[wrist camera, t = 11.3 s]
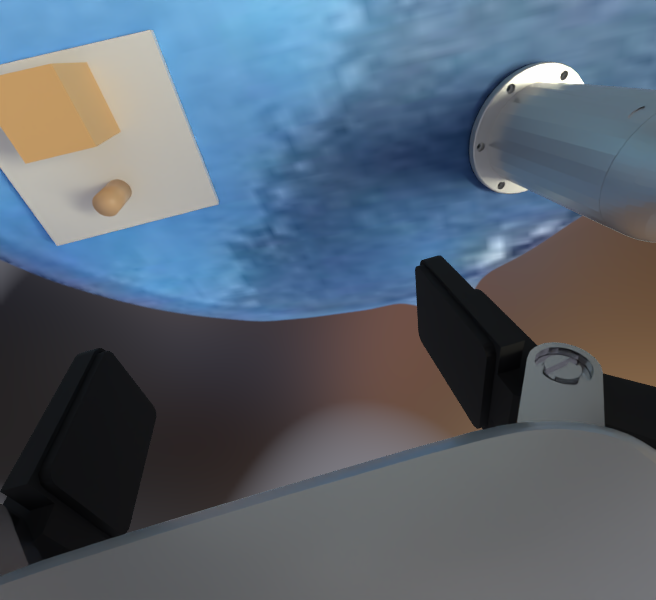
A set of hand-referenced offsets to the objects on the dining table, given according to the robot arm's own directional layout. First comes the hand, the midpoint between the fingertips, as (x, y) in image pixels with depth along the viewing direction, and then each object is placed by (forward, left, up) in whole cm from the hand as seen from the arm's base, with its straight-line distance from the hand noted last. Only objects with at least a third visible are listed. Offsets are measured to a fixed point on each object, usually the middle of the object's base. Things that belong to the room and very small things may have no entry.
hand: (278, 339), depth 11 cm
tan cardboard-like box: (+13, -7, -27) cm, 31 cm away
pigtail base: (+13, -3, -28) cm, 31 cm away
